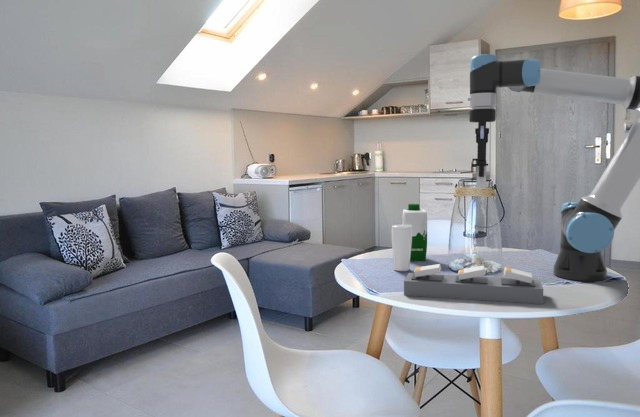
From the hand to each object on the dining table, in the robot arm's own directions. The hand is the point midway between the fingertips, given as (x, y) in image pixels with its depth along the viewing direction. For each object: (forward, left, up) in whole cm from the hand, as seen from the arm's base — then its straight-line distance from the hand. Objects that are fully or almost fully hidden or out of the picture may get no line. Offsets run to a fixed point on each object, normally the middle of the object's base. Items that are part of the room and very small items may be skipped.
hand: (481, 187), depth 162 cm
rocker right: (-10, +18, -22) cm, 30 cm away
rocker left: (+14, +18, -22) cm, 32 cm away
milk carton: (+23, -25, -29) cm, 44 cm away
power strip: (+2, +18, -28) cm, 34 cm away
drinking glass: (+25, -7, -29) cm, 39 cm away
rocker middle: (+2, +18, -22) cm, 29 cm away
